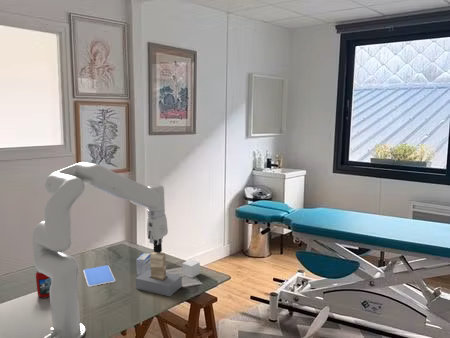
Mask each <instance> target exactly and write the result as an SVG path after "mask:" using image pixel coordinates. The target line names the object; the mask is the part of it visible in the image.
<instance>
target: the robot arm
mask: <svg viewBox="0 0 450 338" xmlns="http://www.w3.org/2000/svg"><path fill="white" fill-rule="evenodd" d="M85 185H86V186H89V187H93V188H95V189H97V190H100V191H101V192H104V193H107V194H109V195H111V196H113V197H116V198H118V199H123V200H127V201H128V200H129V202H130V203H131V204H133V205H135V206H139V207H144V208H147V225H146V231H147V233H146V235H147V239H148V240H149V244H152V245H153V252H157V253H160V252H161V253H163V247H162V243H163V238H164V237H165V236H168V235H167V234H168V233H169V232H168V231H169V229H168V221H167V215H166V207H165V204H166V203H165V188H164V186H163V185H161V184H151V185H148V186H146V185H144V184H142V183H139V182H137V181H135V180H133V179H130V178H128V177H125V176H123V175H122V174H119V173H117V172H115V171H113V170H111V169H109V168H107V167H105V166H103V165H101V164H97V163H92V162H87V161H81V162H78V163H77V162H76V163H75V164H73V165H70V166H68V167H67V166H66V167H64V168H62V169H60V170H57V171H54V172H52V173H51V174H49V175H48V176H47V177H46V179H45V183H44V188H45V190H46V191H47V193H49V194H50V197H49V199H48V201H47V202H46V204H45V207H44V211H43V216H44V217H43V219H44V220H42V221H40V222H39V223H38V224H36V225H35V227H34V228H33V231H32V233H31V234H32V235H31V243H32V253H33V261H34V262H33V263H34V265H35V268H36V270H38V271H39V272H41V273H43V274H45V275H46V276H48V277H50V278H51V280H52V282H51V286H50V296H49V300H50V301H49V302H50V312H51V313H50V314H51V321H52V322H51V323H52V327H50V332H49V333H48V335H45V336H44V337H43V338H82V337H83V336H85V334H86V326H85V325H84V324H83V323H81V317H80V316H81V314H80V303H79V291H78V276H79V263H78V261H77V260H76V258H74V257H73V256H72V255H71V254H68V253H65V252H66V251H67V250H69V249H70V247H71V245H72V243H73V234H72V232H73V231H72V221H71V220H72V219H71V211H72V208H73V206H74V204H75V203H76V202H77V201H78V199H79V198H81V196H82V195H83V194H84V191H85Z"/></svg>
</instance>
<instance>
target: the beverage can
mask: <svg viewBox="0 0 450 338" xmlns="http://www.w3.org/2000/svg"><path fill="white" fill-rule="evenodd" d="M36 270H37V269H36ZM51 282H52V280H51V278H50V277H48V276H46V275H45V274H43V273H41V272H39V271H38V270H37V271H36V273H35V283H36V290H37V296H38V297H39V298H43V299H45V298H50V286H51Z"/></svg>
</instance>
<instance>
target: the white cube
mask: <svg viewBox="0 0 450 338" xmlns="http://www.w3.org/2000/svg"><path fill="white" fill-rule="evenodd" d="M200 263H201V262H199V261H197V260H194V259H188V260H186V261H184V262H182V265H181V266H182V275H184V276H185V275H186V277H188V278H190V277H191V279H192V278H194V277H196V276H198V275H200V273H201V267H200V266H201V264H200Z"/></svg>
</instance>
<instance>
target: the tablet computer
mask: <svg viewBox="0 0 450 338" xmlns="http://www.w3.org/2000/svg"><path fill="white" fill-rule="evenodd" d="M83 275H84V278H85V281H86V285H87V287H88V288H92V287H96V286H97V285H98V286H101V284H103V285H107V284H106V283H108V284H112V283H116V278H115V277H114V274H113V272H112V270H111V268H110V266H109V265H101V266H96V267H92V268H85V269H83Z"/></svg>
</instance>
